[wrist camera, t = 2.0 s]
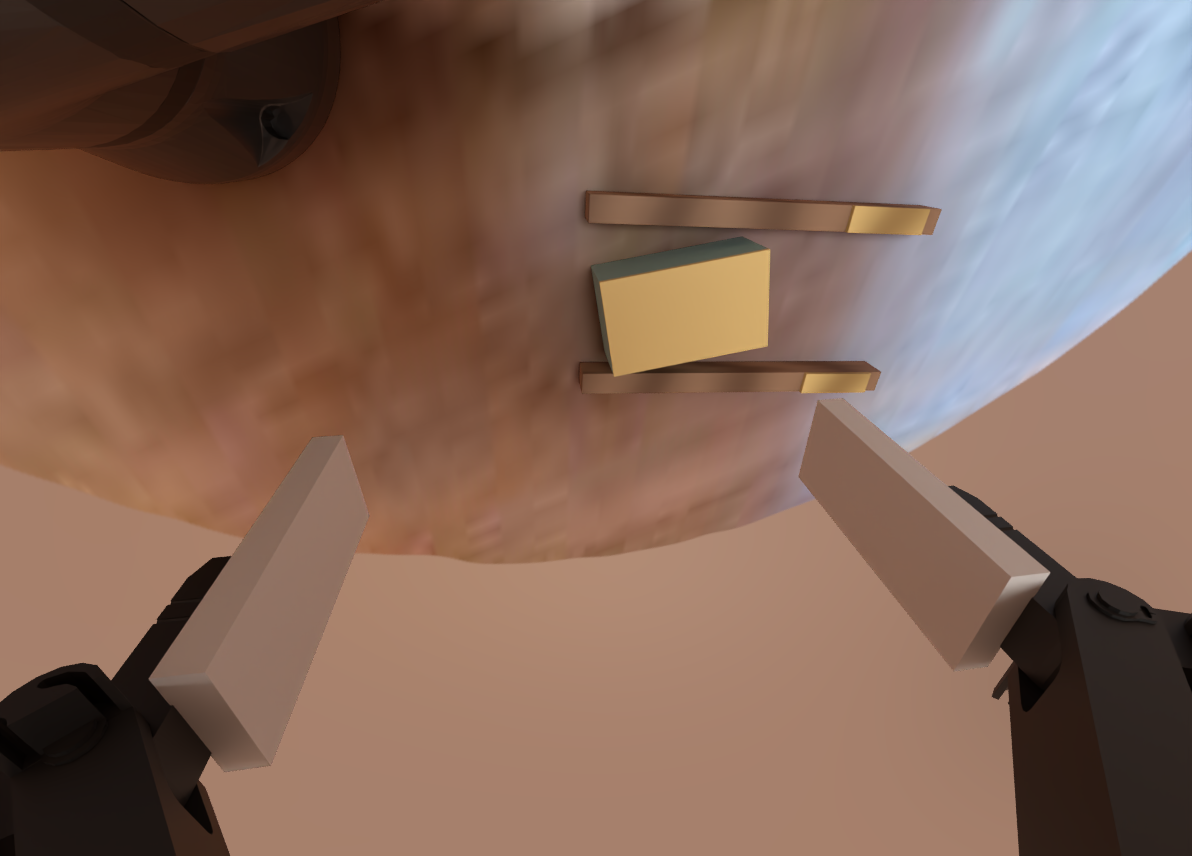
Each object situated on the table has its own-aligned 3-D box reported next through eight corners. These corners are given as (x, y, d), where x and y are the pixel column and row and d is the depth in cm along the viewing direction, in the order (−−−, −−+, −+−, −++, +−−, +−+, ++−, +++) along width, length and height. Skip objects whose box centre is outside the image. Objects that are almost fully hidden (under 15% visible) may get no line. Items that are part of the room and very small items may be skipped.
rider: (604, 350, 35) (614, 376, 31) (590, 264, 32) (599, 282, 28) (740, 323, 35) (767, 346, 31) (740, 235, 32) (770, 249, 28)
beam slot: (579, 381, 36) (582, 395, 34) (586, 190, 29) (590, 194, 27) (858, 379, 39) (876, 392, 37) (919, 205, 32) (945, 209, 30)
